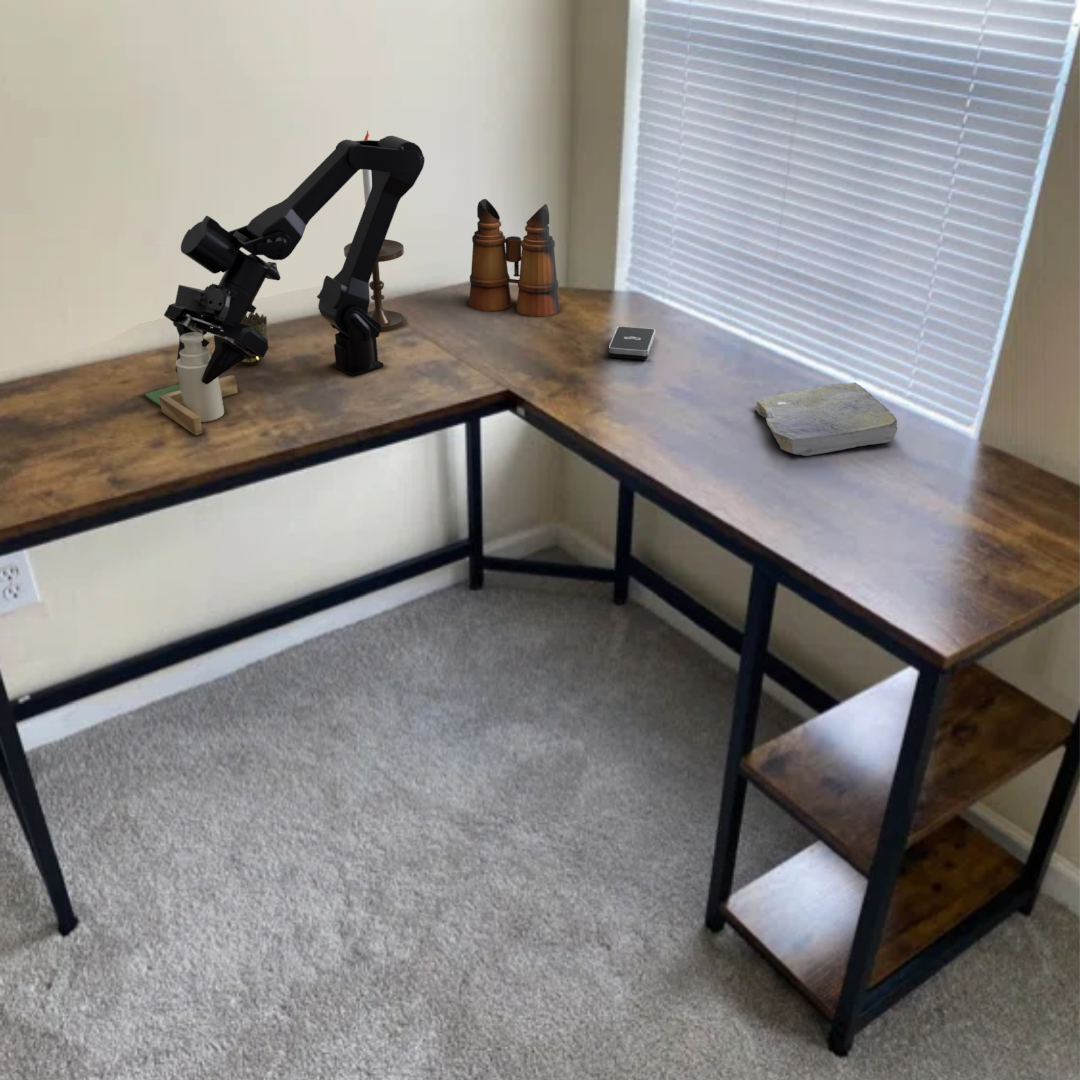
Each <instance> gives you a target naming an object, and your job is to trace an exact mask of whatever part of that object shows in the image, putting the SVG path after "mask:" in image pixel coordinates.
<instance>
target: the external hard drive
mask: <svg viewBox="0 0 1080 1080" xmlns="http://www.w3.org/2000/svg"><path fill="white" fill-rule="evenodd" d="M655 338H656V329H654V328H651V327H650V328H648V327H637V326H636V327H635V326H621V325H620V326H617V327H616V329H615V332H614V333H613V336H612V339H611V340H610V343H609V345H608V355H609V357H610V358H621V359H630V360H631V359H632V360H643V361H644V360H645V361H646V360H647V359H648V358H649V354H650V353H651V349H652V347H653V343H654V341H655Z"/></svg>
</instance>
